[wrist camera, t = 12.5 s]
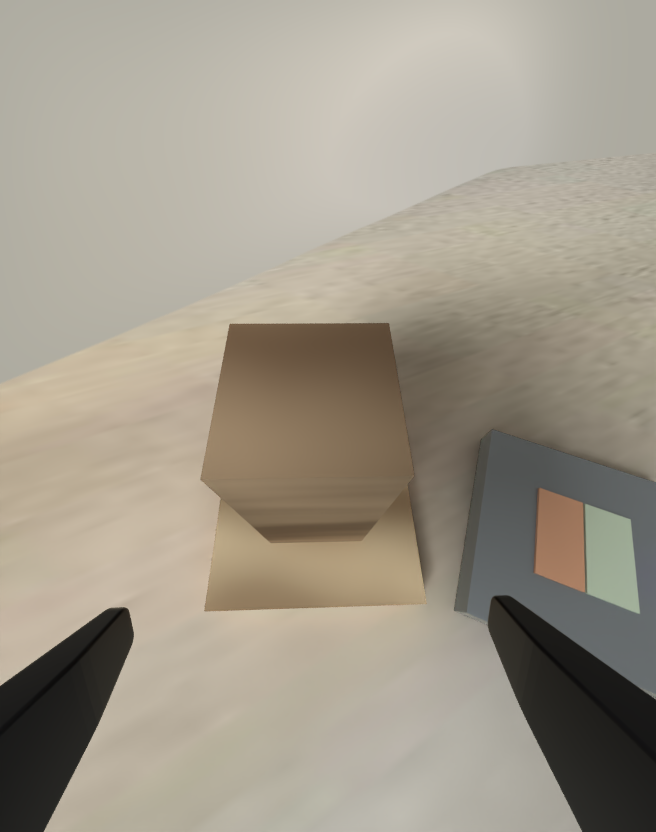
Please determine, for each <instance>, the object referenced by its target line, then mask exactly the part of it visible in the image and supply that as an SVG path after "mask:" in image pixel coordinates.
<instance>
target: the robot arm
mask: <svg viewBox="0 0 656 832" xmlns="http://www.w3.org/2000/svg"><path fill="white" fill-rule="evenodd" d="M488 628H489V632H490V635H491V637H492V639H493V642H494V644H495V647H496V649H497V652H498V654H499V657H500V659H501V662H502V664H503V667H504V669H505V672H506V674H507V676H508V679H509V681H510V684H511V686H512V689H513V691H514V694H515V696H516V698H517V701H518V703H519V705H520V708H521V710H522V712H523V714H524V716H525V718H526V720H527V722H528V724H529V726H530V728H531V730H532V732H533V734H534V736H535V738H536V740H537V742H538V744H539V746H540V748H541V750H542V752H543V754H544V756H545V758H546V760H547V762H548V764H549V766H550V768H551V770H552V772H553V774H554V776H555V778H556V780H557V782H558V784H559V786H560V788H561V790H562V792H563V794H564V796H565V798H566V800H567V802H568V804H569V806H570V808H571V810H572V812H573V814H574V816H575V818H576V820H577V822H578V824H579V826H580V828H581V830H582V832H656V699H654V698H653V697H652V696H650V695H649V694H647V693H646V692H645V691H643V690H642V689H640V688H639V687H638V686H636V685H635V684H633V683H632V682H631V681H629V680H628V679H626V678H625V677H624V676H622V675H621V674H619V673H618V672H617V671H615V670H614V669H612V668H611V667H610V666H608V665H607V664H605V663H604V662H603V661H601V660H600V659H598V658H597V657H596V656H594V655H593V654H591V653H590V652H589V651H587V650H586V649H584V648H583V647H582V646H580V645H579V644H577V643H576V642H575V641H573V640H572V639H570V638H569V637H568V636H566V635H565V634H563V633H562V632H561V631H559V630H558V629H556V628H555V627H554V626H552V625H551V624H549V623H548V622H547V621H545V620H544V619H542V618H541V617H540V616H538V615H537V614H535V613H534V612H533V611H531V610H530V609H528V608H527V607H526V606H524V605H523V604H521V603H520V602H519V601H517V600H516V599H514V598H513V597H511V596H509V595H495V596H493V597H492V598H491V602H490V609H489V615H488ZM133 638H134V632H133V627H132V622H131V618H130V613H129V610H128V609H127V608H125V607H120V608H109V609H107V610H105V611H104V612H102V613H101V614H100V615H98V616H97V617H95V618H94V619H93V620H91V621H90V622H88V623H87V624H86V625H84V626H83V627H82V628H80V629H79V630H77V631H76V632H75V633H73V634H72V635H70V636H69V637H68V638H66V639H65V640H63V641H62V642H61V643H59V644H58V645H57V646H55V647H54V648H52V649H51V650H50V651H48V652H47V653H45V654H44V655H43V656H41V657H40V658H38V659H37V660H36V661H34V662H33V663H31V664H30V665H29V666H27V667H26V668H25V669H23V670H22V671H20V672H19V673H18V674H16V675H15V676H13V677H12V678H11V679H9V680H8V681H6V682H5V683H4V684H2V685H1V686H0V832H44V830H45V828H46V826H47V824H48V822H49V820H50V818H51V816H52V814H53V812H54V811H55V809H56V807H57V805H58V803H59V801H60V799H61V797H62V795H63V793H64V791H65V789H66V787H67V785H68V783H69V781H70V779H71V777H72V775H73V773H74V771H75V769H76V767H77V766H78V764H79V762H80V760H81V758H82V756H83V754H84V752H85V750H86V748H87V746H88V744H89V742H90V740H91V738H92V736H93V734H94V732H95V730H96V728H97V726H98V724H99V721H100V719H101V717H102V715H103V712H104V710H105V708H106V705H107V703H108V701H109V698H110V696H111V693H112V691H113V689H114V686H115V684H116V682H117V679H118V677H119V674H120V672H121V670H122V667H123V665H124V662H125V660H126V658H127V655H128V653H129V651H130V648H131V646H132V643H133Z"/></svg>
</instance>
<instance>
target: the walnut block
mask: <svg viewBox="0 0 656 832" xmlns="http://www.w3.org/2000/svg"><path fill="white" fill-rule="evenodd" d="M413 477H414V470H413V464H412V458H411V452H410V446H409V440H408V434H407V428H406V422H405V416H404V410H403V404H402V398H401V392H400V386H399V381H398V375H397V369H396V363H395V357H394V351H393V345H392V339H391V333H390V327H389V323H345V324H230V325H229V331H228V336H227V341H226V347H225V352H224V357H223V362H222V368H221V373H220V378H219V384H218V389H217V394H216V400H215V405H214V410H213V416H212V421H211V426H210V432H209V437H208V442H207V447H206V453H205V458H204V463H203V469H202V474H201V480H202V481H203V482H204V483H205V484H206V485H207V486H208V487H209V488H211V489H212V490H213V491H214V492H215V493H216V494H217V495H218V496H219V497H220V498H222V499H223V500H224V501H225V502H226V503H227V504H228V505H229V506H230V507H231V508H232V509H234V510H235V511H236V512H237V513H238V514H239V515H240V516H241V517H242V518H243V519H245V520H246V521H247V522H248V523H249V524H250V525H251V526H252V527H253V528H254V529H256V530H257V531H258V532H259V533H260V534H261V535H262V536H263V537H264V538H265V539H267V540H268V541H269V542H270V543H299V542H344V541H362V540H363V539H364V538H365V536H366V535H367V534H368V533H369V531H370V530H371V529H372V528H373V526H374V525H375V524H376V523H377V521H378V520H379V519H380V518H381V517H382V515H383V514H384V513H385V512H386V510H387V509H388V508H389V507H390V505H391V504H392V503H393V502H394V501H395V499H396V498H397V497H398V496H399V494H400V493H401V492H402V491H403V489H404V488H405V487H406V486H407V484H408V483H409V482H410V481H411V480H412V478H413Z"/></svg>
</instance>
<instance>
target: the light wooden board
mask: <svg viewBox="0 0 656 832" xmlns="http://www.w3.org/2000/svg"><path fill="white" fill-rule="evenodd" d="M409 604H427V603H426V597H425V591H424V585H423V578H422V572H421V566H420V559H419V553H418V547H417V541H416V534H415V528H414V522H413V515H412V509H411V503H410V497H409V490H408V484H407V486H406V487H405V488H404V489H403V491H402V492H401V493H400V494H399V496H398V497H397V498H396V499H395V501H394V502H393V503H392V504H391V505H390V507H389V508H388V509H387V510H386V512H385V513H384V514H383V515H382V517H381V518H380V519H379V520H378V521H377V523H376V524H375V525H374V526H373V528H372V529H371V530H370V531H369V533H368V534H367V535H366V536H365V538H364V539H363V540H362V541H344V542H299V543H270V542H269V541H268V540H267V539H265V538H264V537H263V536H262V535H261V534H260V533H259V532H258V531H257V530H256V529H254V528H253V527H252V526H251V525H250V524H249V523H248V522H247V521H246V520H245V519H243V518H242V517H241V516H240V515H239V514H238V513H237V512H236V511H235V510H234V509H232V508H231V507H230V506H229V505H228V504H227V503H226V502H225V501H224V500H223V499H222V498H221V500H220V507H219V514H218V521H217V528H216V534H215V541H214V548H213V555H212V562H211V569H210V576H209V583H208V590H207V596H206V603H205V610H204V611H228V610H258V609H289V608H319V607H349V606H379V605H409Z"/></svg>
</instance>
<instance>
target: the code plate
mask: <svg viewBox="0 0 656 832" xmlns="http://www.w3.org/2000/svg"><path fill="white" fill-rule="evenodd" d="M495 595H509V596H511V597H513V598H514V599H516V600H517V601H519V602H520V603H521V604H523V605H524V606H526V607H527V608H528V609H530V610H531V611H533V612H534V613H535V614H537V615H538V616H540V617H541V618H542V619H544V620H545V621H547V622H548V623H549V624H551V625H552V626H554V627H555V628H556V629H558V630H559V631H561V632H562V633H563V634H565V635H566V636H568V637H569V638H570V639H572V640H573V641H575V642H576V643H577V644H579V645H580V646H582V647H583V648H584V649H586V650H587V651H589V652H590V653H591V654H593V655H594V656H596V657H597V658H598V659H600V660H601V661H603V662H604V663H605V664H607V665H608V666H610V667H611V668H612V669H614V670H615V671H617V672H618V673H619V674H621V675H622V676H624V677H625V678H626V679H628V680H629V681H631V682H632V683H633V684H635V685H636V686H638V687H639V688H640V689H642V690H643V691H645V692H646V693H647V694H649V695H650V696H653V697H655V698H656V482H653V481H649V480H646V479H643V478H640V477H637V476H634V475H631V474H628V473H625V472H622V471H619V470H616V469H613V468H610V467H607V466H603V465H600V464H597V463H594V462H591V461H588V460H585V459H582V458H579V457H576V456H573V455H570V454H567V453H564V452H561V451H557V450H554V449H551V448H548V447H545V446H542V445H539V444H536V443H533V442H530V441H527V440H524V439H521V438H518V437H515V436H511V435H508V434H505V433H502V432H499V431H496V430H493V429H492V430H491V431H490V432H489V433H488V434H487V435H486V436H485V437H483V438H482V439H481V443H480V449H479V456H478V462H477V468H476V475H475V481H474V487H473V494H472V500H471V507H470V513H469V519H468V526H467V532H466V538H465V545H464V551H463V557H462V564H461V570H460V576H459V583H458V589H457V595H456V602H455V608H454V611H456V612H458V613H460V614H463V615H465V616H467V617H470V618H472V619H474V620H477V621H479V622H481V623H484V624H486V625H488V615H489V609H490V602H491V598H492V597H493V596H495Z"/></svg>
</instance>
